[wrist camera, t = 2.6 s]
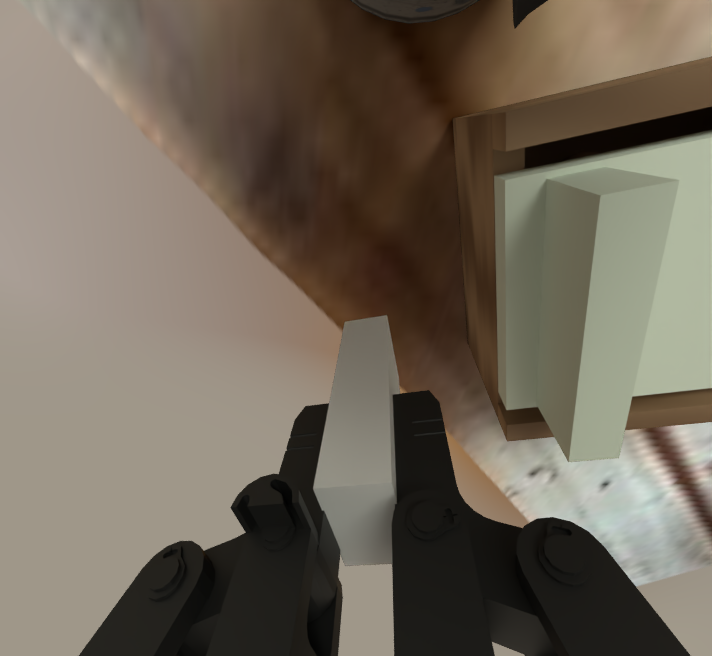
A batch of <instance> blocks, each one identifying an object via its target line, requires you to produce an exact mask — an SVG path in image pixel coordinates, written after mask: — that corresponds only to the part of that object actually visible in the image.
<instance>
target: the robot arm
mask: <svg viewBox="0 0 712 656" xmlns="http://www.w3.org/2000/svg"><path fill="white" fill-rule="evenodd" d="M290 436H291V438H290V439H289V441H288V445H287V451H286V452H285V455H284V458H283V462H282V465H281V468H280V472H279V474H271V475H267V476H263V477H260V478H259V479H257V480H255V481H253V482H252V483H250V484H248V485H247V486H246V487H245V488H244V489H243V490H242V492H240V493H239V494H238V496H237V497H236V499H235V501H234V503H233V504H232V506H231V509H232V511H233V512H234V514H235V516H236V517H237V519H238V520H239V522H240V524H241V525H242V527H243V529H244V530H245V532H246V533H244V534H242V535H240V536H238V537H237V538H235V539H232V540H230V541H227V542H225V543H222V544H220V545H217V546H215V547H212V548H210V549H207V550H205V551H203V549H202V548H201V547H200V546H199V545H197V544H196V543H194V542H193V541H180V542H177V543H174V544H172V545H169V546H167V547H166V548H164V549H163V550H162V551H160V552H159V553H158V554H156V555H155V556H154V557H153V558H152V559H151V560H150V561H149V562H148V563H147V564H146V565H145V567H144V568H143V569H142V570H141V571H140V573H139V574H138V576H137V577H136V578H135V580H134V581H133V582H132V584H131V585H130V587H129V588H128V589H127V590H126V592H125V593H124V595H123V596H122V597H121V599H120V600H119V601H118V603H117V604H116V606H115V607H114V608H113V610H112V611H111V612H110V614H109V615H108V616H107V618H106V619H105V621H104V622H103V623H102V625H101V626H100V627H99V629H98V630H97V632H96V633H95V634H94V636H93V637H92V638H91V640H90V641H89V642H88V644H87V645H86V647H85V648H84V649H83V651H82V652H81V653H80V655H79V656H338V647H339V635H340V623H341V611H342V598H343V597H342V585H341V583H340V581H339V578H338V570H339V560H340V555H341V557H342V560H343V562H344V564H345V566H352V565H376V564H392V567H393V610H394V611H393V613H394V656H495V655H494V650H493V646H492V642H494V643H497V644H499V645H502V646H504V647H507V648H509V649H512V650H514V651H517V652H520V653H522V654H524V655H525V656H690V654H689V653H688V652H687V651H686V649H685V648H684V647H683V646H682V644H681V643H680V642H679V641H678V639H677V638H676V637H675V636H674V634H673V633H672V632H671V631H670V629H669V628H668V627H667V625H666V624H665V623H664V622H663V620H662V619H661V618H660V617H659V615H658V614H657V613H656V612H655V610H654V609H653V608H652V606H651V605H650V604H649V603H648V601H647V600H646V599H645V598H644V596H643V595H642V594H641V593H640V592H639V590H638V589H637V588H636V586H635V585H634V584H633V583H632V581H631V580H630V579H629V578H628V576H627V575H626V574H625V572H624V571H623V570H622V569H621V567H620V566H619V565H618V564H617V562H616V561H615V560H614V559H613V557H612V556H611V555H610V554H609V552H608V551H607V550H606V549H605V547H604V546H603V545H602V544H601V543H600V542H599V541H598V540H597V539H596V538H595V537H594V536H593V535H591V534H590V533H589V532H588V531H587V530H585V529H583V528H581V527H579V526H578V525H576V524H574V523H572V522H570V521H566V520H562V519H558V518H554V517H550V518H540V519H536V520H534V521H532V522H530V523H529V524H527V525H525V526H524V527H523V528H520V527H516V526H512V525H508V524H504V523H500V522H497V521H494V520H491V519H488V518H486V517H483V516H482V515H480V514H479V513H477V512H475V511H474V510H473V509H472V508H471V507H470V506H469V505H468V504H466V503H465V501H464V499H463V498H462V496H461V495H460V493H459V490H458V487H457V484H456V480H455V475H454V470H453V465H452V461H451V456H450V451H449V446H448V442H447V437H446V432H445V427H444V422H443V418H442V413H441V408H440V403H439V401H438V400H437V399H436V398H435V397H434V396H433V395H432V393H431V392H430V391H429V390H427V391H419V392H410V393H402V394H400V388H399V376H398V371H397V366H396V360H395V355H394V350H393V344H392V339H391V334H390V329H389V323H388V318H387V315H385V316H378V317H372V318H366V319H359V320H353V321H346V322H345V323H344V328H343V334H342V339H341V344H340V350H339V355H338V360H337V365H336V371H335V376H334V381H333V387H332V392H331V397H330V402H329V403H328V404H320V405H312V406H305V408H304V409H303V410H302V412H301V413H300V414H299V415H298V417H297V418H296V419H295V421H294V425H293V428H292V431H291V435H290Z"/></svg>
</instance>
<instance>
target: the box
mask: <svg viewBox="0 0 712 656" xmlns="http://www.w3.org/2000/svg"><path fill="white" fill-rule="evenodd" d="M708 130H712V57H708V58H704V59H700V60H695V61H691V62H687V63H683V64H679V65H675V66H670V67H666V68H662V69H658V70H654V71H650V72H645V73H641V74H637V75H633V76H629V77H624V78H620V79H616V80H612V81H608V82H604V83H599V84H595V85H591V86H587V87H583V88H579V89H574V90H570V91H566V92H562V93H558V94H554V95H549V96H545V97H541V98H537V99H533V100H528V101H524V102H520V103H516V104H512V105H508V106H503V107H499V108H495V109H491V110H487V111H483V112H478V113H474V114H470V115H466V116H462V117H458V118H453V132H454V147H455V162H456V176H457V191H458V206H459V221H460V235H461V250H462V265H463V280H464V295H465V309H466V324H467V339H468V345H469V347H470V350H471V352H472V355H473V357H474V360H475V362H476V365H477V367H478V370H479V372H480V375H481V377H482V380H483V382H484V385H485V387H486V390H487V392H488V395H489V397H490V400H491V402H492V405H493V407H494V410H495V412H496V415H497V417H498V420H499V422H500V425H501V427H502V430H503V432H504V435H505V437H506V440H507V441H516V440H526V439H537V438H547V437H554V435H553V433H552V431H551V430H550V428H549V426H548V424H547V422H546V421H545V419H544V417H543V415H542V413H541V412H540V410H539V408H538V407H532V408H522V409H513V410H506V408H505V406H504V404H503V401H502V399H501V397H500V395H499V392H498V349H497V298H496V247H495V196H494V175H499V174H504V173H509V172H513V171H518V170H523V169H528V168H532V167H537V166H542V165H547V164H551V163H556V162H561V161H562V160H563V159H565V158H567V157H569V156H571V155H574V154H577V153H580V152H587V151H594V152H600V153H604V152H608V151H613V150H618V149H623V148H627V147H632V146H637V145H642V144H646V143H651V142H656V141H661V140H665V139H670V138H675V137H680V136H684V135H689V134H694V133H699V132H703V131H708ZM705 422H712V388H707V389H698V390H688V391H679V392H670V393H661V394H651V395H642V396H633V397H632V400H631V405H630V409H629V414H628V418H627V423H626V428H625V430H631V429H642V428H652V427H663V426H673V425H684V424H695V423H705Z"/></svg>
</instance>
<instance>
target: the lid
mask: <svg viewBox="0 0 712 656" xmlns="http://www.w3.org/2000/svg"><path fill="white" fill-rule="evenodd" d="M494 196H495V247H496V298H497V349H498V392H499V395H500V397H501V399H502V401H503V404H504V406H505V408H506V410H513V409H522V408H532V407H538V408H539V410H540V412H541V413H542V415H543V417H544V419H545V421H546V422H547V424H548V426H549V428H550V430H551V431H552V433H553V435H554V437H555V439H556V440H557V442H558V444H559V446H560V447H561V449H562V451H563V453H564V455H565V456H566V458H567V460H568V462H577V461H589V460H601V459H613V458H619V455H620V450H621V446H622V441H623V437H624V432H625V428H626V423H627V418H628V414H629V409H630V405H631V400H632V397H633V396H642V395H651V394H661V393H670V392H679V391H688V390H698V389H707V388H712V130H708V131H703V132H699V133H694V134H689V135H684V136H680V137H675V138H670V139H665V140H661V141H656V142H651V143H646V144H642V145H637V146H632V147H627V148H623V149H618V150H613V151H608V152H604V153H599V154H594V155H589V156H585V157H580V158H575V159H570V160H566V161H561V162H556V163H551V164H547V165H542V166H537V167H532V168H528V169H523V170H518V171H513V172H509V173H504V174H499V175H494Z"/></svg>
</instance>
